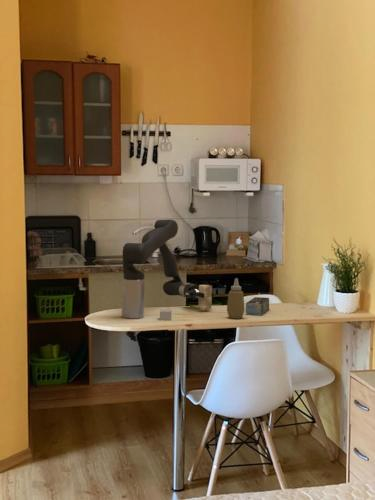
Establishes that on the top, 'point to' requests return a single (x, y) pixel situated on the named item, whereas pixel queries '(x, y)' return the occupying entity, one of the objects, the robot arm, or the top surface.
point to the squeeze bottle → (235, 301)
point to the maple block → (206, 301)
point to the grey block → (165, 314)
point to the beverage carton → (257, 306)
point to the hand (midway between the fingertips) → (208, 295)
